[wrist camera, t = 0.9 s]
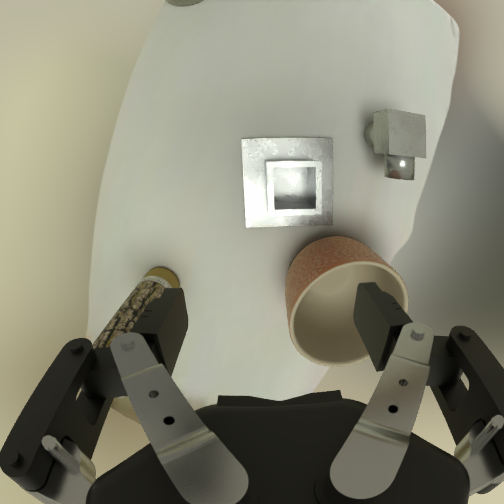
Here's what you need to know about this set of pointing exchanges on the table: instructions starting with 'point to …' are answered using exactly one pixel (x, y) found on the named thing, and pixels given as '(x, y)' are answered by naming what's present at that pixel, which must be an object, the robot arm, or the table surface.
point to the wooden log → (136, 304)
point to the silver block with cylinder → (397, 141)
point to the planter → (334, 298)
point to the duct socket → (288, 181)
